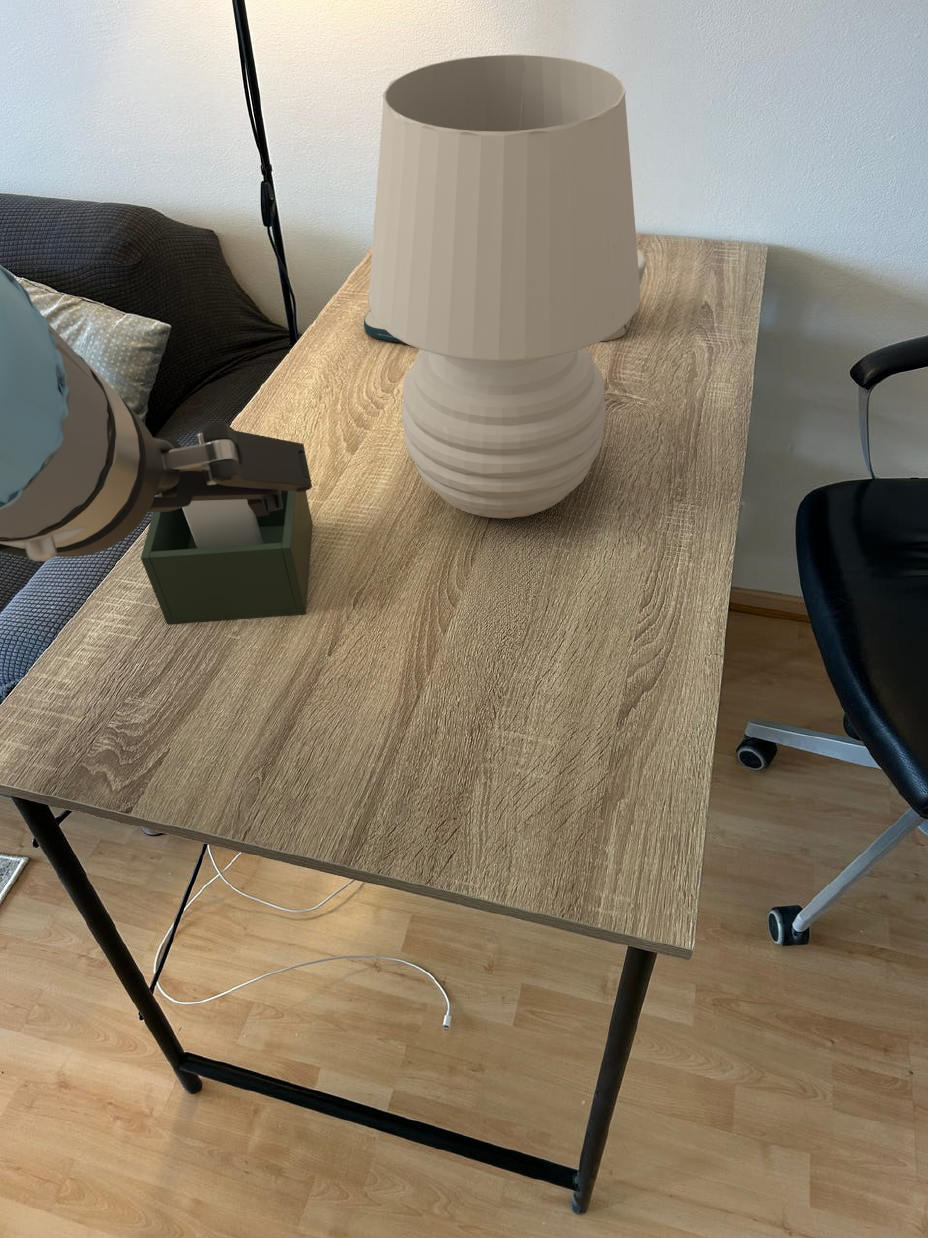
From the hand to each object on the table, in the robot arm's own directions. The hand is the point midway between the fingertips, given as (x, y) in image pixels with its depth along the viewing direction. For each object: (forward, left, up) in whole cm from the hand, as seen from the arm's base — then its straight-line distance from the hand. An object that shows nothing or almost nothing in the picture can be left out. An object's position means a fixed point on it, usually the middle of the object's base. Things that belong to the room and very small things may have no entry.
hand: (149, 514), depth 56 cm
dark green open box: (-2, +24, -27) cm, 37 cm away
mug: (+41, +70, -28) cm, 86 cm away
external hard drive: (+19, +79, -28) cm, 85 cm away
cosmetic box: (-3, +24, -27) cm, 36 cm away
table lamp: (+26, +35, -28) cm, 52 cm away
